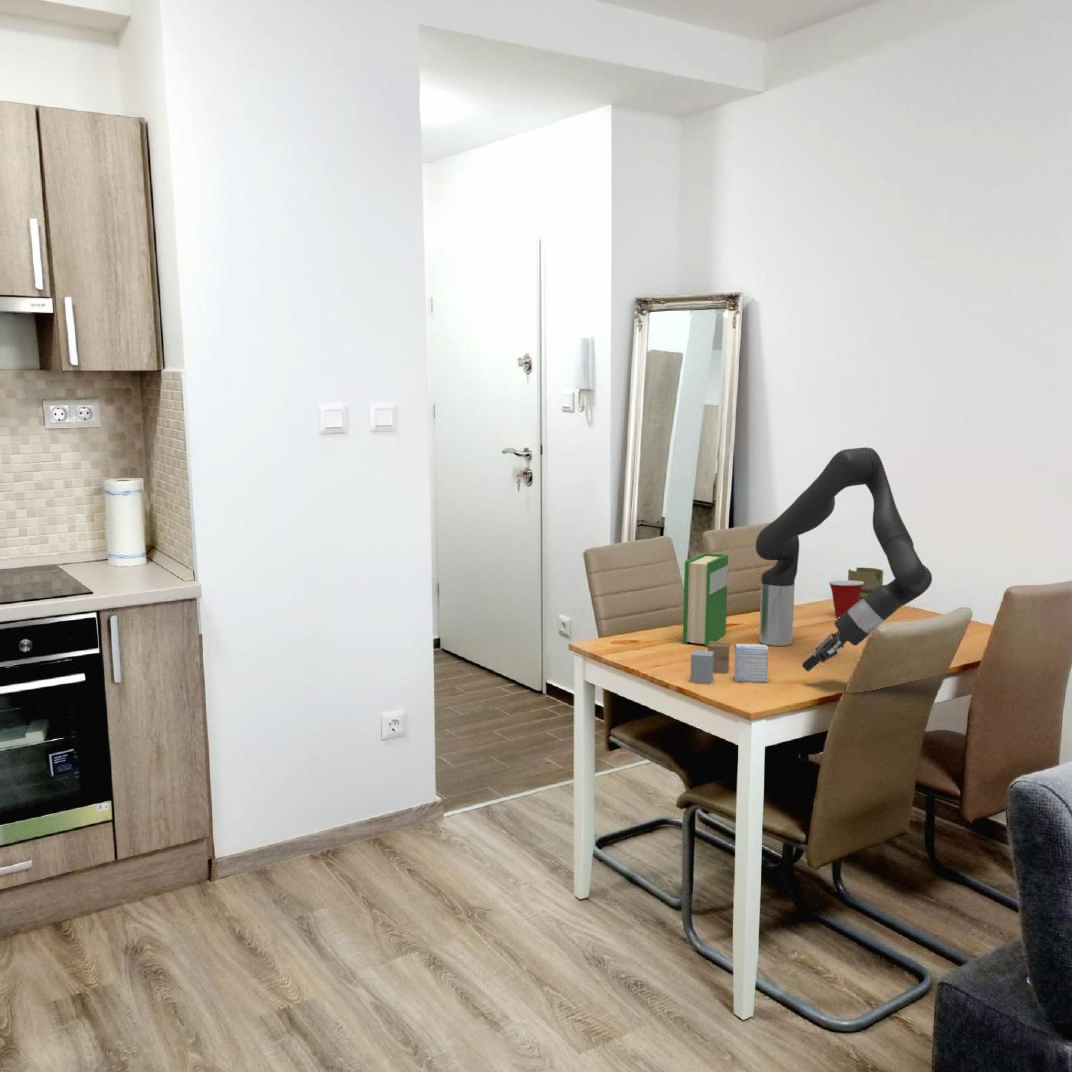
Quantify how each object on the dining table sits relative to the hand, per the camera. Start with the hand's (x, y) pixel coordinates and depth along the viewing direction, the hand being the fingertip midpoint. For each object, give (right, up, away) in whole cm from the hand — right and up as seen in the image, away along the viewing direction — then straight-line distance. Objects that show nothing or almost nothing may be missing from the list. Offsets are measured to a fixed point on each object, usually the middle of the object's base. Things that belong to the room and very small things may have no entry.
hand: (804, 668), depth 251 cm
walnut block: (-19, -2, +13) cm, 23 cm away
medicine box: (-12, -4, +4) cm, 14 cm away
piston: (+47, +9, +101) cm, 112 cm away
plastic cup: (+33, +6, +79) cm, 86 cm away
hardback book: (-17, +2, +47) cm, 50 cm away
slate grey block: (-25, -4, +3) cm, 25 cm away
